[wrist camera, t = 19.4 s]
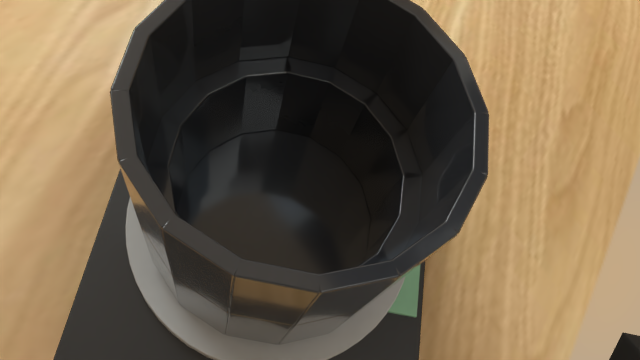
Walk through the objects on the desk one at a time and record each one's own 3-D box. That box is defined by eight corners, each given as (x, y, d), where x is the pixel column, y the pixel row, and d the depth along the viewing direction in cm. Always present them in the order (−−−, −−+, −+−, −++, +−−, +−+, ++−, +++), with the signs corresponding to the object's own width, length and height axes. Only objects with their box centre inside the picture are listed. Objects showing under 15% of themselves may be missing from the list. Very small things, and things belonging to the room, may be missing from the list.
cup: (400, 142, 28) (491, 6, 19) (378, 366, 23) (486, 326, 14) (185, 93, 27) (173, -76, 18) (115, 317, 22) (50, 240, 13)
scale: (418, 147, 32) (440, 118, 29) (396, 425, 25) (421, 425, 22) (161, 88, 30) (156, 51, 27) (67, 368, 24) (46, 359, 21)
